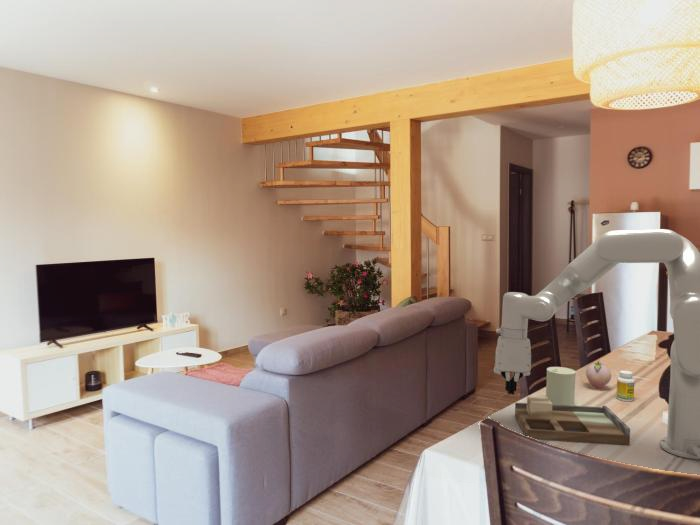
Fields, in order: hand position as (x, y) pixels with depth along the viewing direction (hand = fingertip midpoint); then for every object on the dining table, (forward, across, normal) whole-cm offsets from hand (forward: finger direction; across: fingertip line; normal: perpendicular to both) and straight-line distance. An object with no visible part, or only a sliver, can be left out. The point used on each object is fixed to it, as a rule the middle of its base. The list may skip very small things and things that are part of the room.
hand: (510, 392), depth 163 cm
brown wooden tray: (+8, +16, -4) cm, 19 cm away
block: (+6, +9, 0) cm, 11 cm away
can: (+9, +20, +19) cm, 29 cm away
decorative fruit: (+8, +39, +40) cm, 56 cm away
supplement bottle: (+8, +44, +28) cm, 52 cm away
